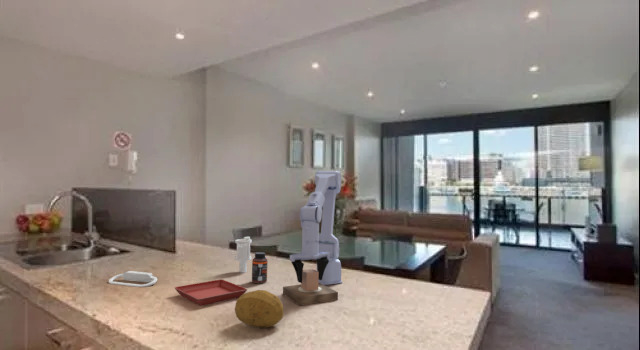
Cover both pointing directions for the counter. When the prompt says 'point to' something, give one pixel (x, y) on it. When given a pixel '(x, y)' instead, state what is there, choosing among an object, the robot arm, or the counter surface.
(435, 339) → the counter surface
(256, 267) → the supplement bottle
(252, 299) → the potato
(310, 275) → the block
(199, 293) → the plant saucer
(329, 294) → the plinth
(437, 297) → the counter surface
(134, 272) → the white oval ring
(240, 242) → the white upright piece
